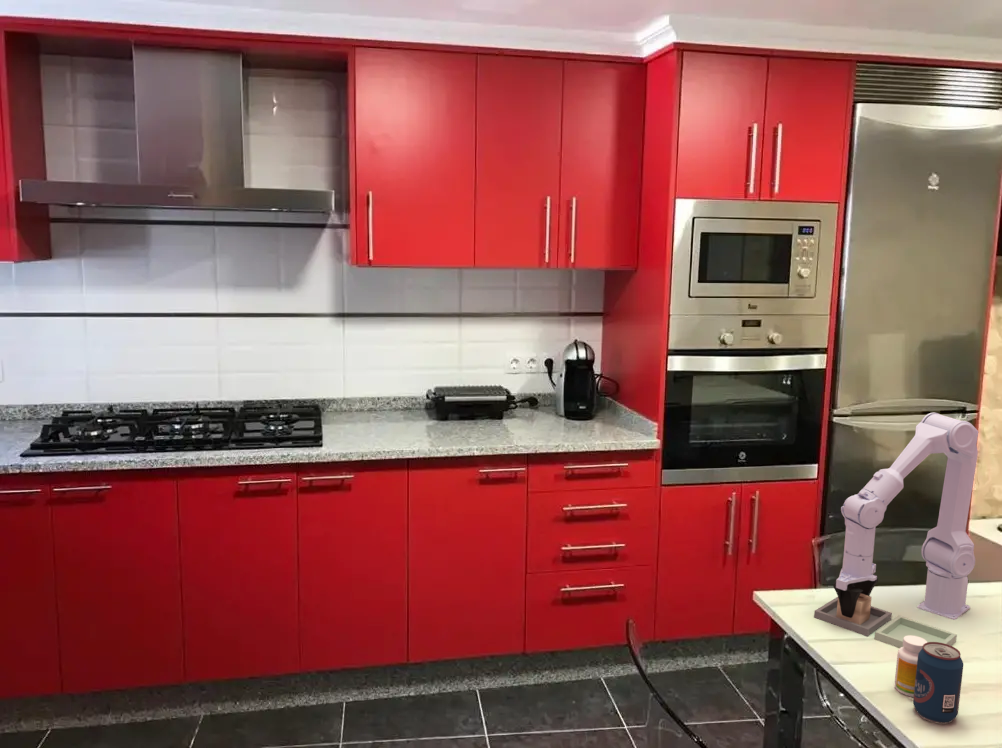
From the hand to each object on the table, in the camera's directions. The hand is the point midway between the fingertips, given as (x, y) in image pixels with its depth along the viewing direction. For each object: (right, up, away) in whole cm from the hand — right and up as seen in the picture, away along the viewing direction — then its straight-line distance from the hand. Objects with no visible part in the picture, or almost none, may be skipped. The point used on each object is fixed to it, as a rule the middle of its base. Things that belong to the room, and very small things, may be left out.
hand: (853, 612), depth 181 cm
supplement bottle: (-1, -7, -28) cm, 28 cm away
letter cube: (0, -1, 0) cm, 1 cm away
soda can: (-1, -8, -35) cm, 36 cm away
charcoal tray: (0, -2, 0) cm, 2 cm away
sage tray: (+9, -3, -9) cm, 13 cm away
